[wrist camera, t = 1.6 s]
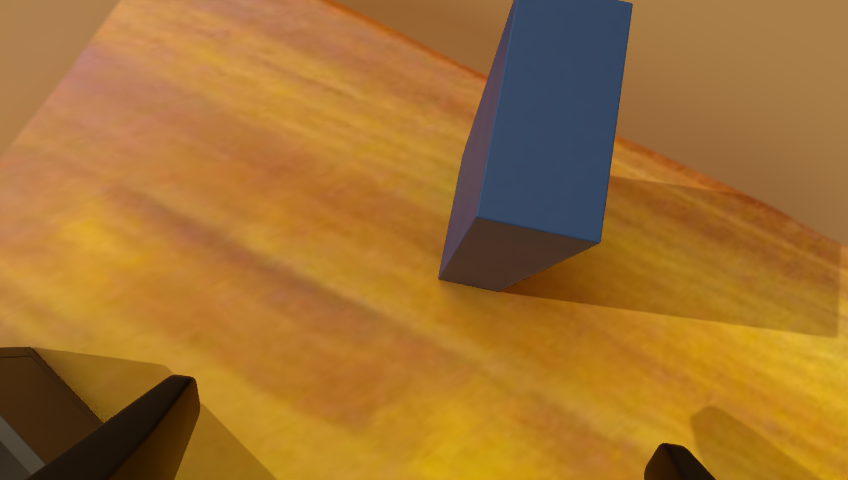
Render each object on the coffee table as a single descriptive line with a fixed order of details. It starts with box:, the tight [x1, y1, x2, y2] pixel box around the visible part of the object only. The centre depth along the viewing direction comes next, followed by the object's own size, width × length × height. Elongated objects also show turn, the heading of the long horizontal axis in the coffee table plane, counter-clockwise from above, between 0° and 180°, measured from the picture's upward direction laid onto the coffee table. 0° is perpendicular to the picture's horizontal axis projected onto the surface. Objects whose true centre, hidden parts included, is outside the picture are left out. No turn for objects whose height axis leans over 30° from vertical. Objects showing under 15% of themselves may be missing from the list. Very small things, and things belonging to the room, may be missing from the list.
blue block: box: [438, 0, 633, 292], centre depth 18 cm, size 3×6×12 cm, turn 169°
